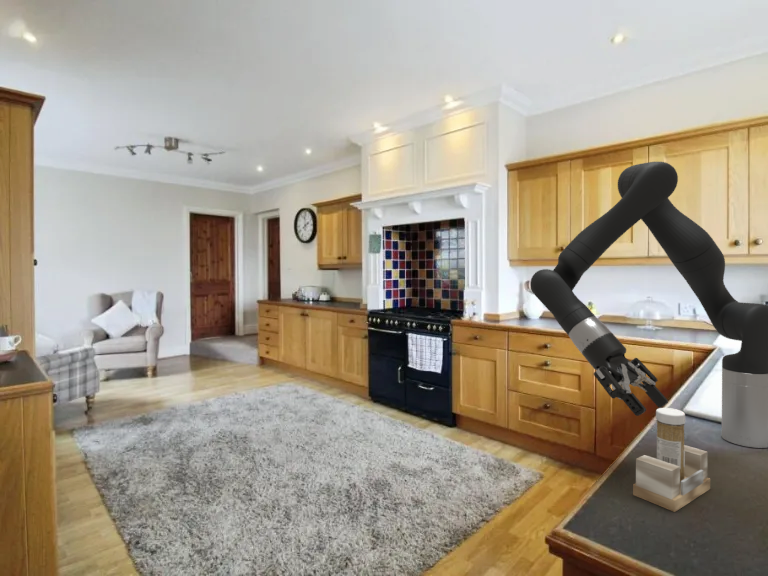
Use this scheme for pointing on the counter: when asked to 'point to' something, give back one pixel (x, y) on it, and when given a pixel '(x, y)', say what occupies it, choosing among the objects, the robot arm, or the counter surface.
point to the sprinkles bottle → (671, 437)
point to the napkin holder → (672, 479)
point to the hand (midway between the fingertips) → (653, 409)
